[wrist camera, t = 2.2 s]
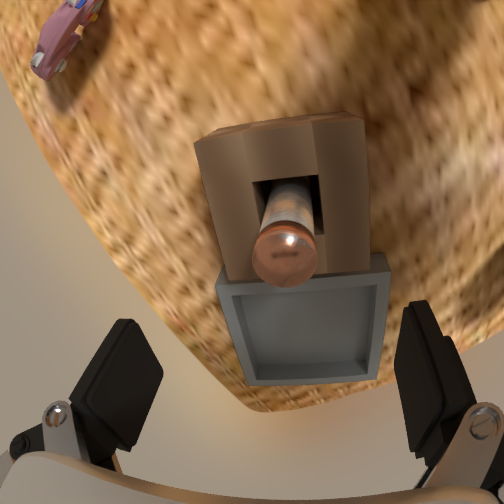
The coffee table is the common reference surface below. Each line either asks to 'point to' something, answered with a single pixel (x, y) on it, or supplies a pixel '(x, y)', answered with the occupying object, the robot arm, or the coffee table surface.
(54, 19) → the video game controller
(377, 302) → the tray
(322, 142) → the hitch block
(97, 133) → the coffee table surface
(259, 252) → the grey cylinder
